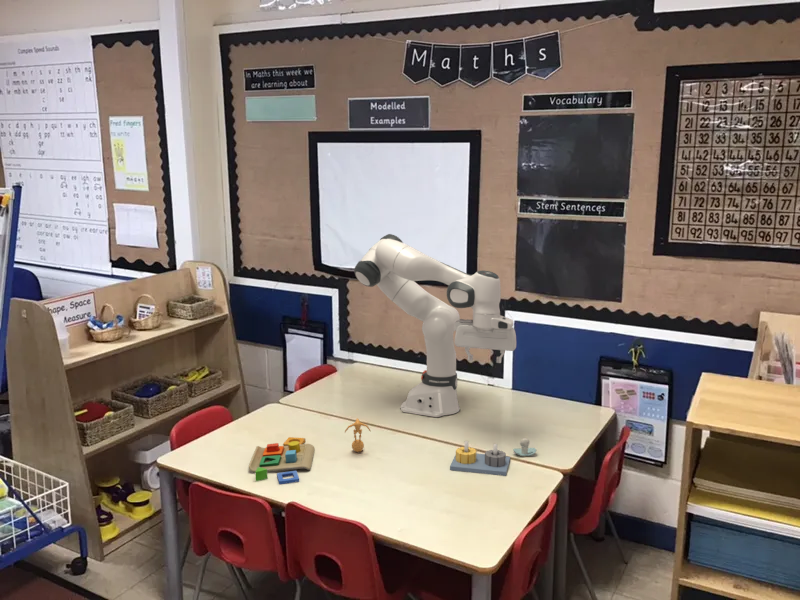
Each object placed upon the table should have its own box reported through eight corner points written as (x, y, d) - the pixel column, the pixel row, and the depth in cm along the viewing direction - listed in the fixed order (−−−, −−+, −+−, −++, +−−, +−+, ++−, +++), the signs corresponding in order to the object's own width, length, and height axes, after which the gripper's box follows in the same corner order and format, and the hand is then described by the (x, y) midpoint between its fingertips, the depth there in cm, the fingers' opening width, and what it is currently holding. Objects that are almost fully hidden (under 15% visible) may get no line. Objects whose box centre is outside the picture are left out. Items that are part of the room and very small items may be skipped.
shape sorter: (261, 441, 240) (260, 428, 239) (317, 439, 241) (316, 426, 240) (243, 485, 207) (242, 470, 206) (308, 483, 208) (307, 469, 207)
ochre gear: (454, 462, 218) (454, 453, 218) (458, 455, 224) (458, 446, 224) (474, 464, 217) (474, 455, 216) (477, 457, 222) (477, 448, 222)
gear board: (449, 469, 216) (450, 447, 215) (457, 455, 227) (457, 433, 226) (505, 475, 211) (506, 453, 210) (510, 460, 223) (510, 438, 222)
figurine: (370, 448, 233) (369, 413, 231) (371, 455, 227) (370, 420, 225) (344, 449, 232) (344, 415, 230) (345, 457, 226) (344, 421, 224)
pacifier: (510, 452, 230) (514, 459, 224) (510, 433, 229) (515, 440, 223) (532, 451, 231) (537, 458, 225) (532, 432, 230) (537, 439, 224)
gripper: (453, 320, 231) (451, 361, 233) (516, 324, 226) (514, 366, 228) (456, 316, 237) (455, 356, 239) (517, 320, 232) (516, 361, 234)
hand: (484, 361), depth 234 cm, fingers open, 8 cm apart
